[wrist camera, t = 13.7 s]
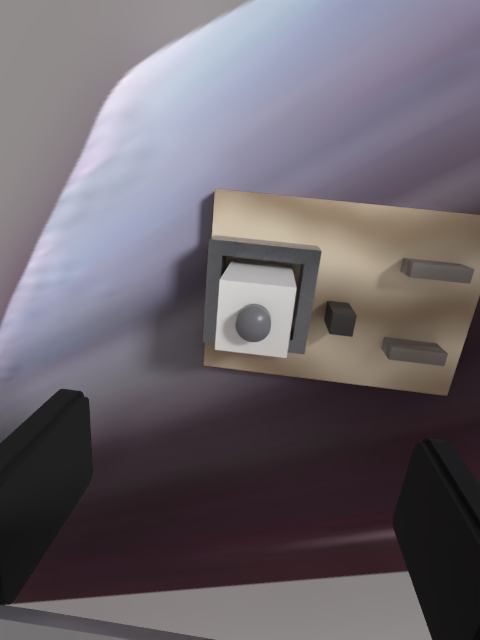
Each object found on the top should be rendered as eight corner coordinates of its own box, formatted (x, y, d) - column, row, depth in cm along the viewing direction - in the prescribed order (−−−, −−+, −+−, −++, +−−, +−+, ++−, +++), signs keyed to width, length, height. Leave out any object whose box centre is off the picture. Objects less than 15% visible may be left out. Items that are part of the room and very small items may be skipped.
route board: (217, 189, 27) (207, 188, 23) (492, 216, 26) (534, 220, 22) (206, 357, 32) (196, 382, 28) (439, 386, 31) (465, 417, 27)
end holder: (214, 234, 27) (208, 239, 25) (317, 245, 27) (321, 251, 24) (208, 330, 30) (202, 342, 27) (302, 341, 29) (304, 354, 27)
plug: (232, 258, 27) (217, 283, 20) (291, 264, 27) (297, 292, 20) (228, 313, 29) (212, 356, 21) (283, 320, 29) (287, 365, 21)
